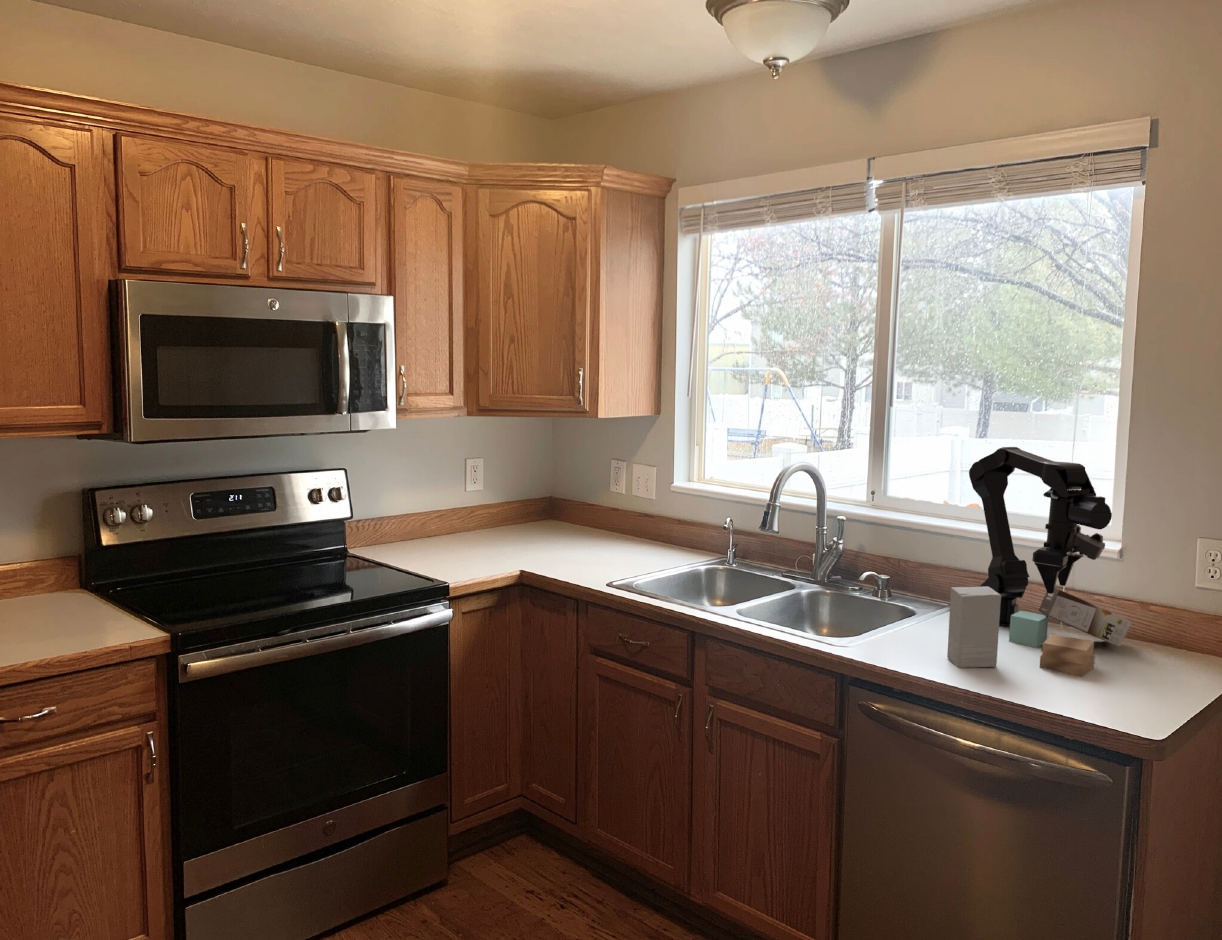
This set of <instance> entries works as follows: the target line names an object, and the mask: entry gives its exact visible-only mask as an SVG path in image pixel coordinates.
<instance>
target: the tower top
mask: <svg viewBox="0 0 1222 940" xmlns="http://www.w3.org/2000/svg"><path fill="white" fill-rule="evenodd" d="M1094 645H1095V641H1092V640H1087V639H1081V638H1077V637H1070V636H1066V635H1065V636H1064V635H1059V634H1050V635H1049V636H1048V638H1047V639H1046V641H1045V642H1044V643H1043V644H1042V652H1041V653H1042V654H1041V655H1042V657H1044V658H1049V659H1054V660H1060V661H1065V662H1070V663H1075V664H1081V665H1086V664H1087V662H1088V661H1089V660H1090V659H1091V657H1092V656H1094Z"/></svg>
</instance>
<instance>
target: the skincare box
mask: <svg viewBox="0 0 1222 940" xmlns="http://www.w3.org/2000/svg"><path fill="white" fill-rule="evenodd" d="M949 599H950V602H949V619H948V620H949V621H948V635H947V636H948V641H947V653H946V654H947V659H948V660H949V661H950V662H951V663H952V664H953V665H955V666H956V667H957V668H959V669H960V668H961V669H962V668H963V669H965V668H996V667H997V663H998V647H999V635H1000V634H999V632H1000V625H999V618H1000V603H1001V595H1000V594H999V593H997V592H996V591H994V590H993V589H992V588H990V587H988V586H986V587H979V586H958V587H957V586H953V587H952V586H951V587H950V598H949Z"/></svg>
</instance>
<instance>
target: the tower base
mask: <svg viewBox="0 0 1222 940" xmlns="http://www.w3.org/2000/svg"><path fill="white" fill-rule="evenodd" d="M1039 658H1040V659H1039V668H1040V669H1043V670H1047V671H1052V672H1055V673H1061V674H1064V675H1069V676H1073V677H1078V678H1082V677H1084V676H1085V675H1087V674H1088V673H1089V672H1090V671H1092V670H1093V669H1095V659H1096V656H1094V655H1093V656H1092V657H1091V659H1090V660H1089V661H1088V662H1087V664H1086V665H1081V664H1075V663H1070V662H1065V661H1060V660H1054V659H1049V658H1044V657H1042V654H1041V655H1040V656H1039Z"/></svg>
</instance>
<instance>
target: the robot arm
mask: <svg viewBox="0 0 1222 940" xmlns="http://www.w3.org/2000/svg"><path fill="white" fill-rule="evenodd" d="M1016 469H1017V470H1020V471H1023V472H1025V473H1028V474H1031V475H1033V476H1036V477H1037V478H1040V479H1041V481H1042V482H1043V484H1045V485H1046V486H1048V487H1049V488H1050V489H1049V490H1047V491H1045V492H1044V493H1043V495H1042V496H1043V497H1045V498H1049V499H1050V502H1049V512H1048V513H1049V515H1048V523H1045V527H1044V529H1046V530H1047V534H1046V541H1044V542H1043V546H1042V547H1039V548H1038V549H1036V550H1035V551H1033V552H1032V562H1033V563H1034V565H1035V566H1036V568H1037V570H1038V572H1039V573H1038V574H1039V575H1040V577H1041V580H1042V582H1043V585H1044V588H1045V591H1046V592H1047V593H1050V594H1052V593H1053V592H1054V589H1056V584H1057V582H1059V585H1060V586H1061V587H1062V586H1063V587H1065V586H1067V583H1068V580H1069V577H1070V575H1071V572H1072V570H1073V566H1074V564H1075V563H1076V562H1077V561H1079V560H1080V559H1082V558H1084V556H1086V557H1087V558H1088V559H1090V560H1093V561H1095V560H1097V559H1099V557H1100V556H1101V554H1102V552H1103V550H1105V548H1106V543H1105V542H1104V536H1103V535H1101V534H1099V533H1098V532H1095V533H1094V534H1092V535H1091V536H1090V534H1085V533H1083V532H1082V531H1081V530H1082V527H1081V526H1083V527H1086V528H1087V527H1088V528H1091V529H1095V530H1103V529H1105V528H1107V527H1108V525H1109V524H1110V523H1111V521H1112V516H1113V513H1112V511H1111V507H1110V505H1108V503H1106V497H1105V496H1097V492H1096V491H1095V487H1094V486H1093V484H1092V482H1091V480H1090V478H1089V475H1088V473H1087V471H1086V467H1085V466H1084V465H1083V464H1082V463H1078V462H1077V463H1076V462H1066V461H1065V462H1064V461H1056V460H1055V461H1054V460H1051V459H1049V458H1045V457H1042V456H1041V455H1040V456H1039V455H1036V454H1034V453H1032V452H1028V451H1026V450H1022V448H1019V447H1018V446H1001V447H999V448H997V449H996V450H995V451H994V452H993V453H990V454H988V455H987V456H985V457H982V458H980V459H979V460H977V461H975V462H974V463H972V465H971V467H970V468H969V470H968V476H969V479H970V483H971V487H972V490H974V492H975V493H976V494H977V495H978V497H980V499H981V502H982V508H983V513H984V518H985V524H986V529H987V533H988V541H989V544H990V551H991V561H990V563H989V565H988V568H987V575H988V578H986V579H985V580H984V581H983V583H981V584H980V585H979V586H978V587H986V586H988V587H990V588H992V589H993V590H994V591H996V592H997V593H999V594H1000V595H1001V603H1000V618H999V626H1002V627H1003V626H1004V627H1010V620H1011V615H1013V614H1015V613H1017V612H1019V604H1017V601H1018V600H1017V599H1018V598H1019V599H1023V597H1024V594H1025V592H1026V589H1027V586H1029V578H1030V574H1029V572H1028V564H1027V562H1026V560H1024V559H1023V560H1022V559H1019V557H1018V556H1017V555H1016V553H1015V548H1014V544H1013V539H1012V534H1011V533H1012V532H1011V529H1010V523H1009V517H1008V512H1007V506H1006V501H1005V492H1006V490H1007V487H1008V486H1009V479H1008V477H1009V476H1010V475H1011V474H1012V473H1014V472H1015V470H1016ZM1077 552H1078V553H1079V554H1078V553H1077Z"/></svg>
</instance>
